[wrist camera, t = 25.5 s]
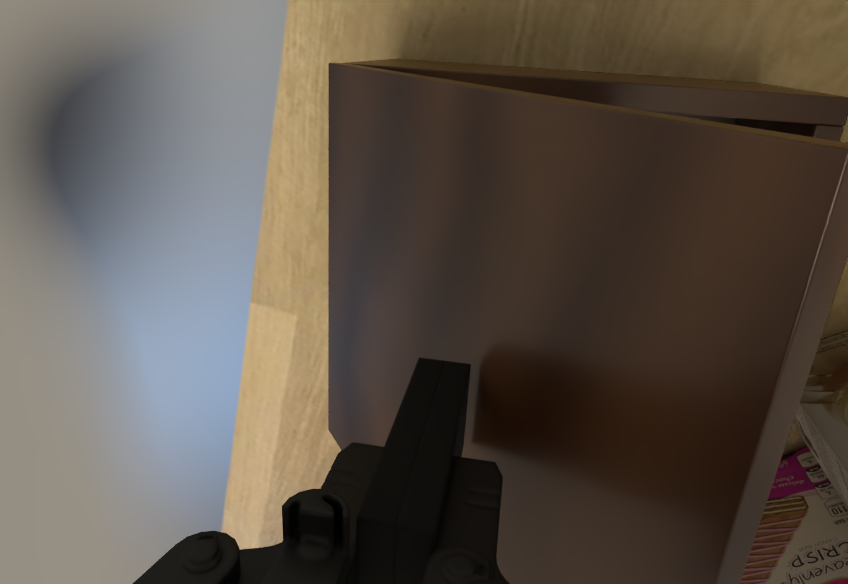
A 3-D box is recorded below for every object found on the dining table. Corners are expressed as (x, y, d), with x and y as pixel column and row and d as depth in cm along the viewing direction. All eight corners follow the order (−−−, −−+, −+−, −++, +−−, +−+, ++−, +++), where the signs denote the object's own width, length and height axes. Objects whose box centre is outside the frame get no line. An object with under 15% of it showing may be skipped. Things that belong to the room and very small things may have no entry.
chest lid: (886, 148, 9) (851, 150, 8) (647, 865, 15) (621, 886, 15) (348, 63, 25) (328, 62, 24) (344, 425, 31) (327, 429, 31)
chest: (758, 82, 32) (853, 98, 22) (687, 373, 38) (737, 482, 29) (396, 58, 34) (342, 62, 25) (386, 334, 41) (339, 422, 31)
